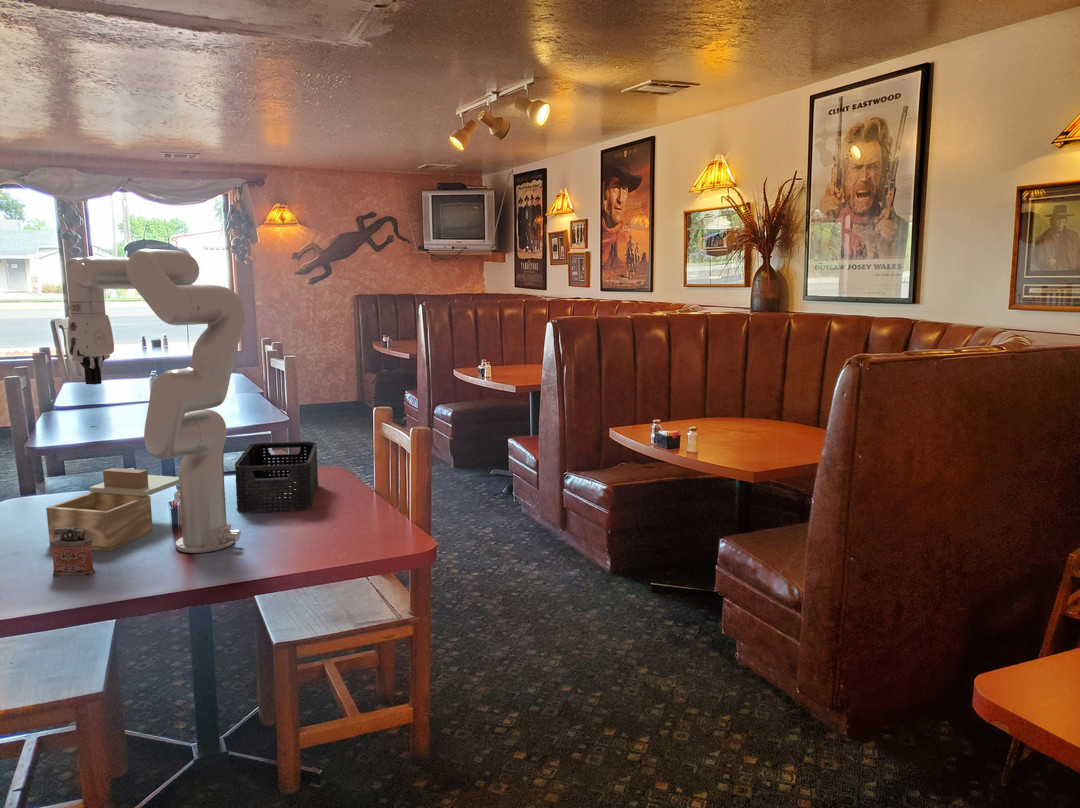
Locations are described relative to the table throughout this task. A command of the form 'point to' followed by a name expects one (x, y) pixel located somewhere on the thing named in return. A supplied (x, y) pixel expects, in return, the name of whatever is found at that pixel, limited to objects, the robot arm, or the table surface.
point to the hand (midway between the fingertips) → (93, 383)
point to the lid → (132, 482)
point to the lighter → (72, 553)
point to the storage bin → (276, 478)
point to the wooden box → (103, 518)
